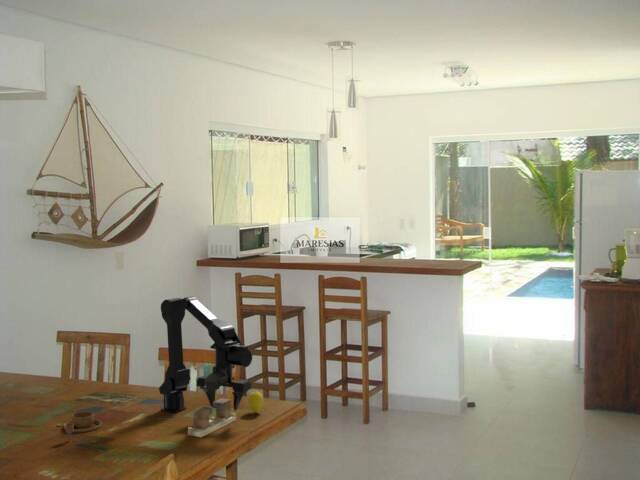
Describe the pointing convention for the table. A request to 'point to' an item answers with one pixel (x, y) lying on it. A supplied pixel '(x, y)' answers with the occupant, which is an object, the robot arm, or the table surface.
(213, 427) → the rail
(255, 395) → the lemon
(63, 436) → the table surface
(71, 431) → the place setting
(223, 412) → the gray and beige block
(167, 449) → the table surface
